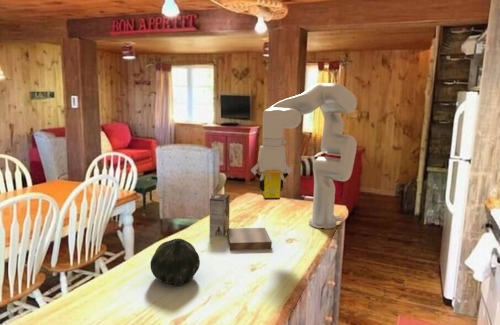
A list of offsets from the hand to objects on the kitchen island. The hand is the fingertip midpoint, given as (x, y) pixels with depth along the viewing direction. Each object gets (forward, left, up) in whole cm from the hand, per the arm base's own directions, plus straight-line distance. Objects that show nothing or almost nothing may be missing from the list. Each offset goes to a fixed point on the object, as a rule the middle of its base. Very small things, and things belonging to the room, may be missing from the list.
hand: (271, 189), depth 147 cm
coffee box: (+18, -18, -24) cm, 35 cm away
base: (+7, -7, -23) cm, 25 cm away
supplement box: (0, 0, -3) cm, 3 cm away
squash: (+34, +23, -24) cm, 47 cm away
